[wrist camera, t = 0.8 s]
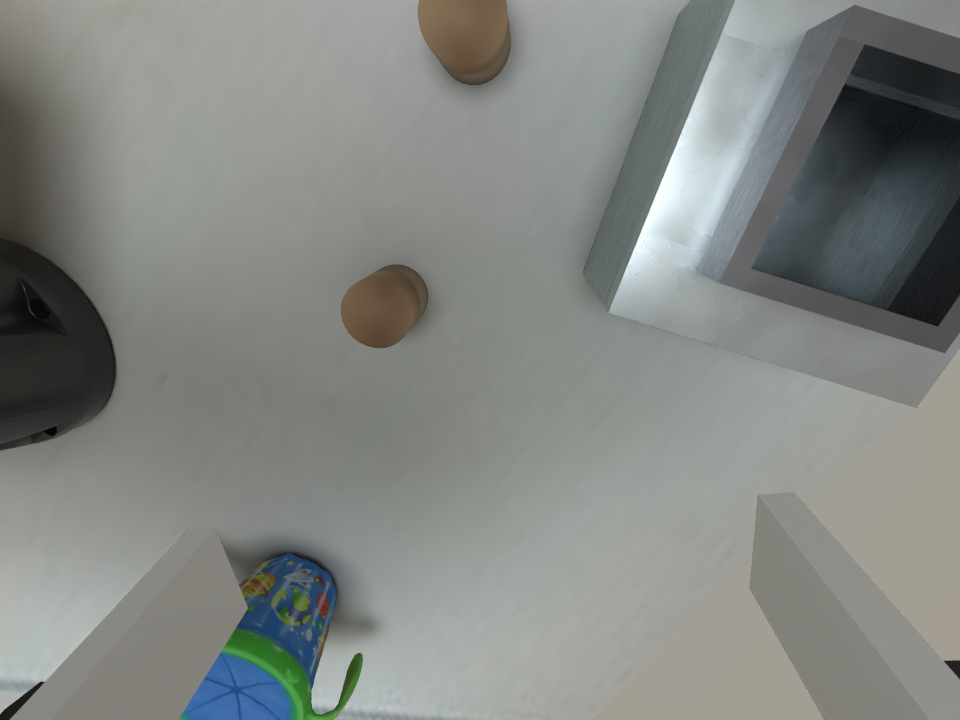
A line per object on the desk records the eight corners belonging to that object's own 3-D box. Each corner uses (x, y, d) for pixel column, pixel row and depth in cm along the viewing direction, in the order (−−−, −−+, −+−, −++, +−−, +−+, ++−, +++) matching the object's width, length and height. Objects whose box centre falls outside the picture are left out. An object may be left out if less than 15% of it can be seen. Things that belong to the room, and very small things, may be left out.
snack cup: (195, 570, 42) (98, 683, 33) (247, 497, 38) (155, 600, 29) (340, 659, 44) (289, 789, 35) (402, 597, 41) (364, 723, 31)
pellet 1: (363, 313, 32) (335, 336, 27) (375, 256, 30) (347, 270, 26) (420, 331, 32) (401, 356, 27) (434, 275, 31) (417, 291, 26)
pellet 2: (430, 72, 26) (409, 49, 22) (448, -11, 25) (429, -55, 20) (498, 94, 27) (491, 75, 22) (520, 12, 25) (517, -27, 20)
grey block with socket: (583, 271, 29) (618, 329, 18) (679, 13, 24) (816, -141, 13) (794, 337, 30) (966, 436, 18) (934, 94, 25) (1299, 14, 13)
